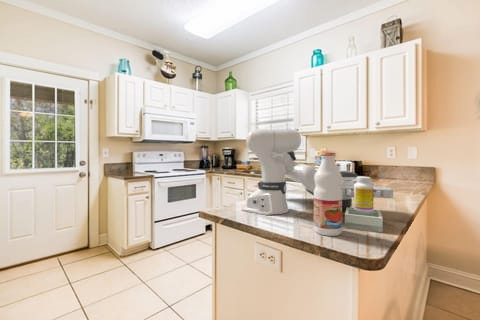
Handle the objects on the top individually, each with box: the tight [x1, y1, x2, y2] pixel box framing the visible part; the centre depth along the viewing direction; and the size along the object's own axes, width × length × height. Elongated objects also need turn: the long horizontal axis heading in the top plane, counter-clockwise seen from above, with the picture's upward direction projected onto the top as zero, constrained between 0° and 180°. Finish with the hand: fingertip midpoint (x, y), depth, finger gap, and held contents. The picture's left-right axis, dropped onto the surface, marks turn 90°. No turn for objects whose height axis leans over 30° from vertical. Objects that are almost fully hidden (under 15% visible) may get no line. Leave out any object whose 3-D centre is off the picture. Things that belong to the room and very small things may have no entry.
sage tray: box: [344, 207, 384, 233], centre depth 89 cm, size 12×12×5 cm
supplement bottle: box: [353, 176, 374, 212], centre depth 89 cm, size 7×7×13 cm
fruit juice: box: [313, 152, 343, 237], centre depth 82 cm, size 9×9×28 cm
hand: (363, 194), depth 88 cm, fingers closed on supplement bottle, 7 cm apart
